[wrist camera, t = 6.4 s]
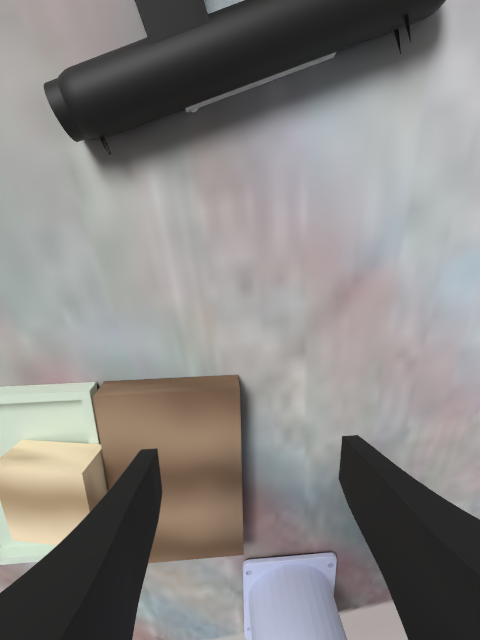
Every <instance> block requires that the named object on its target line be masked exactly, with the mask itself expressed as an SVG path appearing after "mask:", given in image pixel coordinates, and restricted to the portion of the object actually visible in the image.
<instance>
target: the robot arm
mask: <svg viewBox="0 0 480 640" xmlns="http://www.w3.org/2000/svg"><path fill="white" fill-rule="evenodd" d="M339 481H340V483H341V486H342V489H343V492H344V495H345V498H346V500H347V503H348V505H349V508H350V510H351V512H352V514H353V516H354V518H355V520H356V522H357V524H358V526H359V528H360V530H361V532H362V534H363V536H364V538H365V540H366V542H367V544H368V546H369V548H370V550H371V552H372V554H373V556H374V558H375V560H376V562H377V564H378V566H379V568H380V570H381V573H382V575H383V577H384V579H385V581H386V584H387V586H388V589H389V591H390V594H391V596H392V599H393V601H394V604H395V606H396V609H397V611H398V614H399V616H400V619H401V621H402V624H403V627H404V629H405V632H406V634H407V637H408V640H480V520H479V519H478V518H476V517H474V516H472V515H470V514H469V513H467V512H465V511H463V510H462V509H460V508H459V507H457V506H455V505H454V504H452V503H450V502H449V501H447V500H445V499H444V498H442V497H441V496H439V495H437V494H436V493H434V492H433V491H431V490H430V489H429V488H427V487H426V486H424V485H423V484H421V483H420V482H418V481H417V480H415V479H414V478H413V477H411V476H410V475H409V474H407V473H406V472H404V471H403V470H402V469H400V468H399V467H398V466H396V465H395V464H394V463H393V462H391V461H390V460H389V459H387V458H386V457H385V456H384V455H382V454H381V453H380V452H378V451H377V450H376V449H375V448H373V447H372V446H371V445H370V444H368V443H367V442H366V441H365V440H363V439H362V438H361V437H359V436H358V435H354V436H342V447H341V459H340V470H339ZM162 492H163V491H162V483H161V474H160V466H159V457H158V449H157V448H156V449H141V450H140V451H139V452H138V454H137V455H136V456H135V458H134V459H133V460H132V462H131V463H130V464H129V466H128V467H127V468H126V470H125V471H124V472H123V473H122V475H121V476H120V477H119V479H118V480H117V481H116V482H115V483H114V485H113V486H112V487H111V488H110V490H109V491H108V492H107V493H106V494H105V496H104V497H103V498H102V499H101V500H100V501H99V502H98V504H97V505H96V506H95V507H94V508H93V509H92V510H91V511H90V513H89V514H88V515H87V516H86V517H85V518H84V519H83V520H82V521H81V522H80V523H79V524H78V525H77V526H76V527H75V528H74V529H73V530H72V531H71V532H70V533H69V534H68V535H67V536H66V537H65V538H64V539H63V540H62V541H61V542H60V543H59V544H58V545H57V546H56V547H55V548H54V549H53V550H51V551H50V552H49V553H48V554H47V555H46V556H45V557H43V558H42V559H41V560H40V561H39V562H38V563H37V564H35V565H34V566H33V567H32V568H31V569H30V570H29V571H27V572H26V573H25V574H24V575H23V576H21V577H20V578H19V579H18V580H16V581H15V582H14V583H12V584H11V585H10V586H9V587H7V588H6V589H5V590H4V591H2V592H1V593H0V640H132V637H133V631H134V625H135V619H136V613H137V607H138V602H139V598H140V593H141V589H142V585H143V581H144V577H145V573H146V569H147V565H148V561H149V557H150V553H151V549H152V545H153V541H154V537H155V533H156V529H157V525H158V520H159V514H160V507H161V499H162ZM336 564H337V558H336V555H335V554H334V553H318V554H307V555H295V556H284V557H272V558H261V559H249V560H246V561H244V562H243V597H244V634H245V638H246V639H248V640H347V638H346V635H345V632H344V629H343V625H342V623H341V619H340V616H339V613H338V610H337V606H336V603H335V600H334V597H333V596H334V586H335V575H336Z"/></svg>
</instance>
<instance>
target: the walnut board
mask: <svg viewBox="0 0 480 640" xmlns="http://www.w3.org/2000/svg"><path fill="white" fill-rule="evenodd" d="M93 402H94V408H95V414H96V419H97V425H98V431H99V436H100V442H101V448H102V453H103V459H104V465H105V470H106V476H107V482H108V487H109V490H110V488H111V487H112V486H113V485H114V483H115V482H116V481H117V480H118V479H119V477H120V476H121V475H122V473H123V472H124V471H125V470H126V468H127V467H128V466H129V464H130V463H131V462H132V460H133V459H134V458H135V456H136V455H137V454H138V452H139V451H140V450H141V449H156V448H157V449H158V457H159V466H160V474H161V483H162V491H163V492H162V499H161V507H160V514H159V520H158V525H157V529H156V533H155V537H154V541H153V545H152V549H151V553H150V557H149V561H148V563H154V562H166V561H178V560H189V559H201V558H213V557H224V556H236V555H244V546H243V502H242V458H241V414H240V386H239V379H238V375H224V376H204V377H184V378H164V379H144V380H124V381H104V382H103V384H102V385H101V386H100V388H99V389H98V390H97V392H96V393H95V394H94V396H93Z"/></svg>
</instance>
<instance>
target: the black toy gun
mask: <svg viewBox="0 0 480 640" xmlns="http://www.w3.org/2000/svg"><path fill="white" fill-rule="evenodd" d="M445 1H446V0H244V1H242V2H239V3H236V4H234V5H231V6H229V7H226V8H223V9H221V10H218V11H215V12H213V13H210V14H207V11H206V7H205V4H204V1H203V0H135V2H136V5H137V8H138V11H139V13H140V16H141V19H142V22H143V25H144V28H145V30H146V33H147V36H148V37H147V38H145V39H142V40H139V41H137V42H134V43H132V44H129V45H126V46H124V47H121V48H119V49H116V50H113V51H111V52H108V53H105V54H103V55H100V56H98V57H95V58H92V59H90V60H87V61H84V62H82V63H79V64H77V65H74V66H71V67H69V68H67V69H66V70H64V71H63V72H62V73H61V74H60V76H59V77H58V78H57V79H54V80H52V81H49V82H46V83H44V91H45V94H46V97H47V99H48V102H49V104H50V106H51V108H52V110H53V112H54V114H55V116H56V118H57V119H58V121H59V122H60V124H61V126H62V127H63V128H64V130H65V131H66V132H67V134H68V135H69V136H70V137H71V138H72V139H73V140H74V141H76V142H78V141H81V140H84V139H86V138H90V139H101V141H102V143H103V141H104V143H103V145H104V144H105V146H106V148H105V149H107V151H108V154H109V155H111V152H110V150H109V147H108V145H107V142H106V140H105V138H107V137H109V136H112V135H115V134H117V133H120V132H123V131H126V130H128V129H131V128H134V127H136V126H139V125H142V124H144V123H147V122H150V121H152V120H155V119H158V118H160V117H163V116H166V115H168V114H171V113H174V112H176V111H179V110H182V109H184V108H185V110H186V112H189V111H191V112H196V111H197V110H198V108H200V107H203V106H205V105H208V104H211V103H213V102H216V101H219V100H221V99H224V98H227V97H229V96H232V95H235V94H237V93H240V92H243V91H245V90H248V89H251V88H253V87H256V86H259V85H261V84H264V83H267V82H270V81H272V80H275V79H278V78H280V77H283V76H286V75H288V74H291V73H294V72H296V71H299V70H302V69H304V68H307V67H310V66H312V65H315V64H318V63H320V62H323V61H326V60H329V59H331V58H334V56H335V55H336V53H337V51H340V50H343V49H345V48H348V47H351V46H353V45H356V44H359V43H361V42H364V41H367V40H369V39H372V38H375V37H377V36H380V35H383V34H385V33H388V32H391V31H393V30H394V33H395V36H396V40H397V43H398V47H399V50H400V41H399V31H398V29H399V28H401V27H404V26H406V28H407V32H408V35H409V39H410V27H409V25H410V24H412V23H415V22H418V21H420V20H423V19H425V18H427V17H428V16H430V15H431V14H433V13H434V12H435V11H436V10H438V9H439V8H440V6H441V5H442V4H443V3H444V2H445ZM410 42H411V39H410ZM400 54H401V51H400ZM102 139H103V140H102ZM105 146H104V147H105ZM107 151H106V152H107Z"/></svg>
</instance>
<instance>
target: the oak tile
mask: <svg viewBox="0 0 480 640" xmlns="http://www.w3.org/2000/svg"><path fill="white" fill-rule="evenodd" d="M108 491H109V487H108V482H107V476H106V470H105V465H104V459H103V453H102V448H101V444H85V443H69V442H54V441H38V440H21V441H20V442H18V443H17V444H16V445H15V446H14V447H12V448H11V449H10V450H9V451H8V452H6V453H5V454H4V455H3V456H2V457H0V501H1V505H2V508H3V511H4V514H5V518H6V521H7V524H8V528H9V531H10V534H11V538H12V541H21V542H30V543H40V544H49V545H58V544H59V543H60V542H61V541H62V540H63V539H64V538H65V537H66V536H67V535H68V534H69V533H70V532H71V531H72V530H73V529H74V528H75V527H76V526H77V525H78V524H79V523H80V522H81V521H82V520H83V519H84V518H85V517H86V516H87V515H88V514H89V513H90V511H91V510H92V509H93V508H94V507H95V506H96V505H97V504H98V502H99V501H100V500H101V499H102V498H103V497H104V496H105V494H106V493H107V492H108Z"/></svg>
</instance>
